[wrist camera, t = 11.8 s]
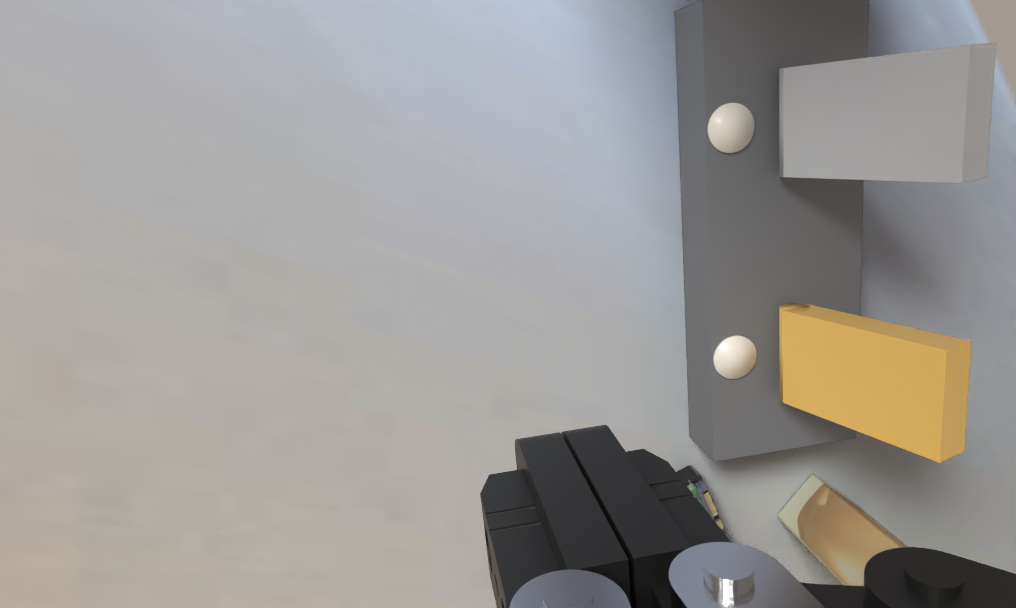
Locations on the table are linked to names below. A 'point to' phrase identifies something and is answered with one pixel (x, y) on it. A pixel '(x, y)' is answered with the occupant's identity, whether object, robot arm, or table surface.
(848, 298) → the dark grey flat block
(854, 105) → the grey switch
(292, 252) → the table surface
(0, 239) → the table surface
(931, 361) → the amber switch
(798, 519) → the skincare box
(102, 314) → the table surface
